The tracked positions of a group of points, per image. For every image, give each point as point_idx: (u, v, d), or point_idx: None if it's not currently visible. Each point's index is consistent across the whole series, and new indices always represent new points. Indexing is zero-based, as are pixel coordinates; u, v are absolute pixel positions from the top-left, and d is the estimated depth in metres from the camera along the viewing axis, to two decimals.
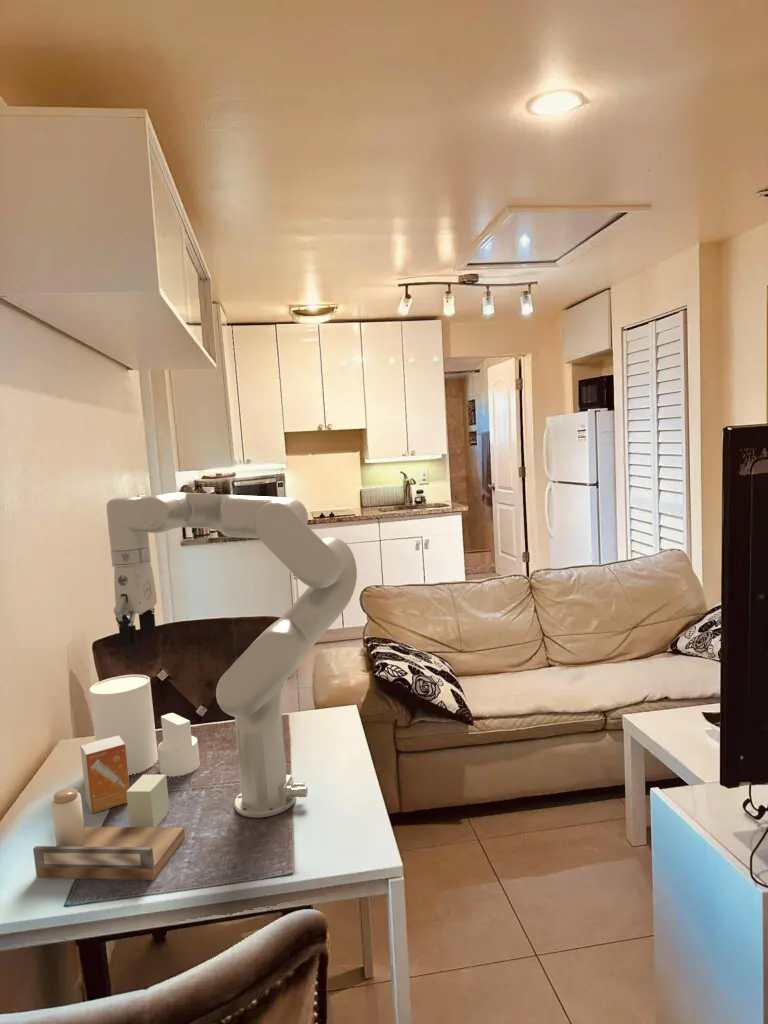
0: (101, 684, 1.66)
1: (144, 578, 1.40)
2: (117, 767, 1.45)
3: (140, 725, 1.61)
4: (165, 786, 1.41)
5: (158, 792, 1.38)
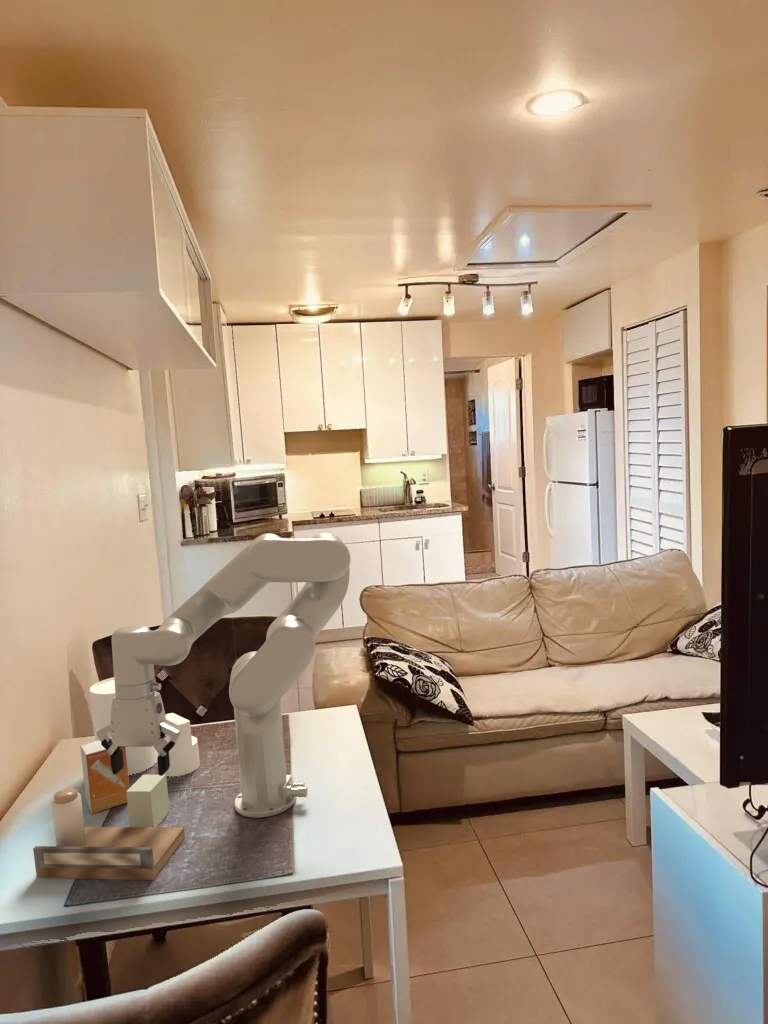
0: (101, 684, 1.66)
1: None
2: None
3: None
4: (165, 786, 1.41)
5: (158, 792, 1.38)
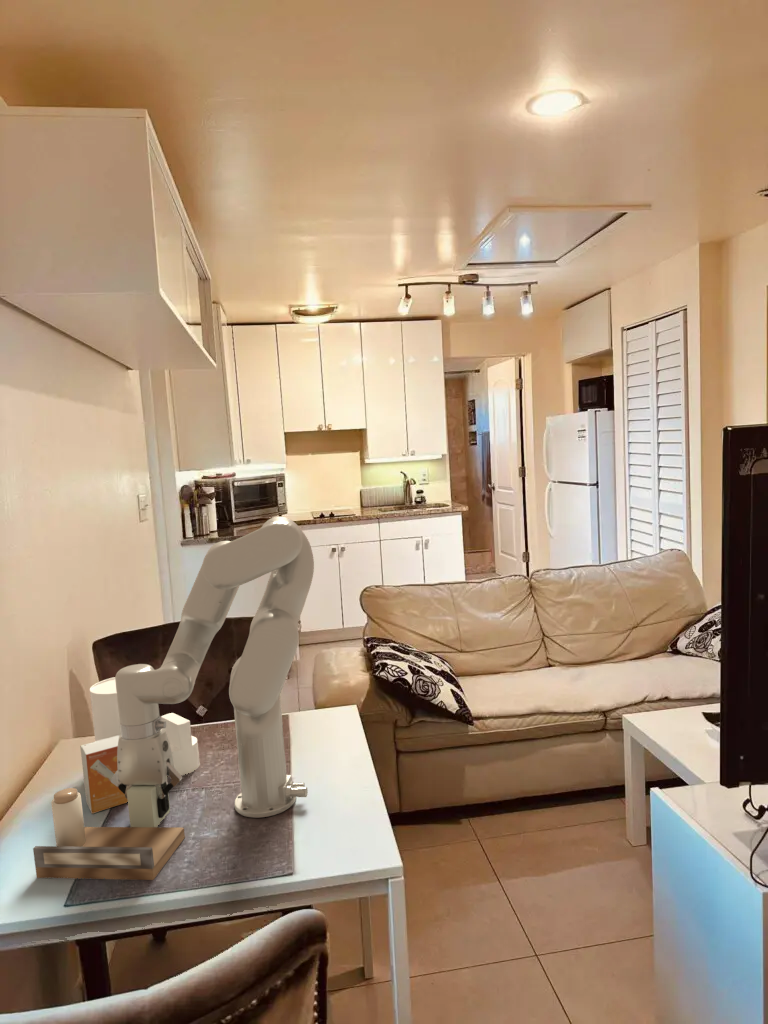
0: (101, 684, 1.66)
1: None
2: None
3: None
4: None
5: None
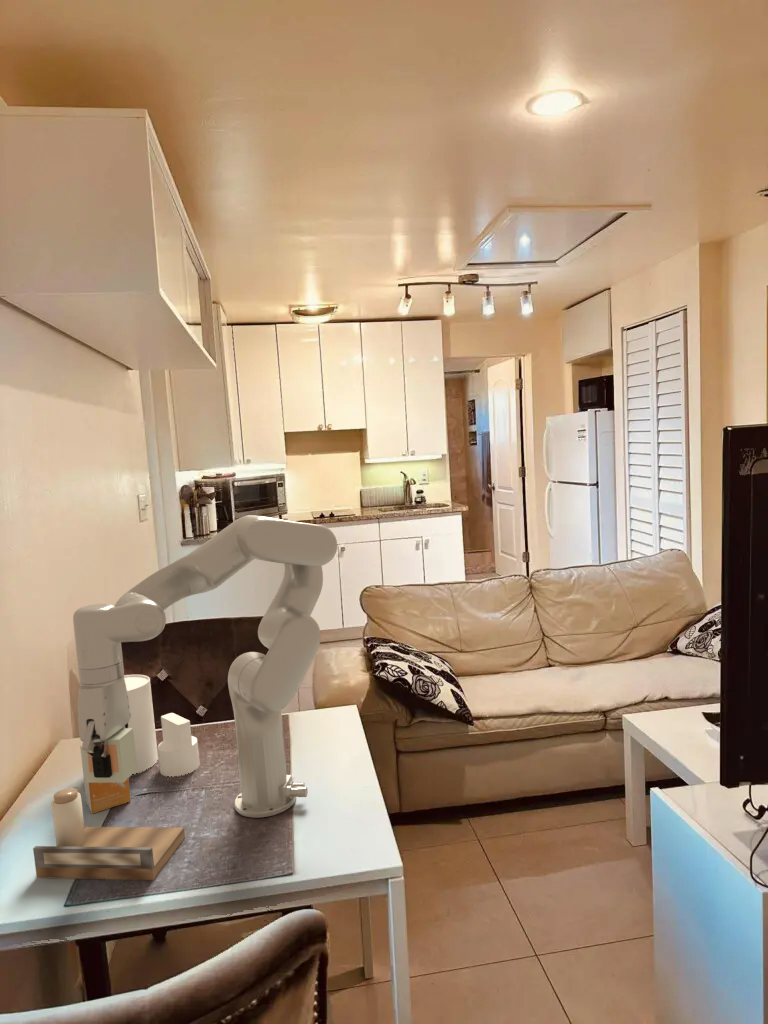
0: None
1: None
2: None
3: (140, 725, 1.61)
4: None
5: None
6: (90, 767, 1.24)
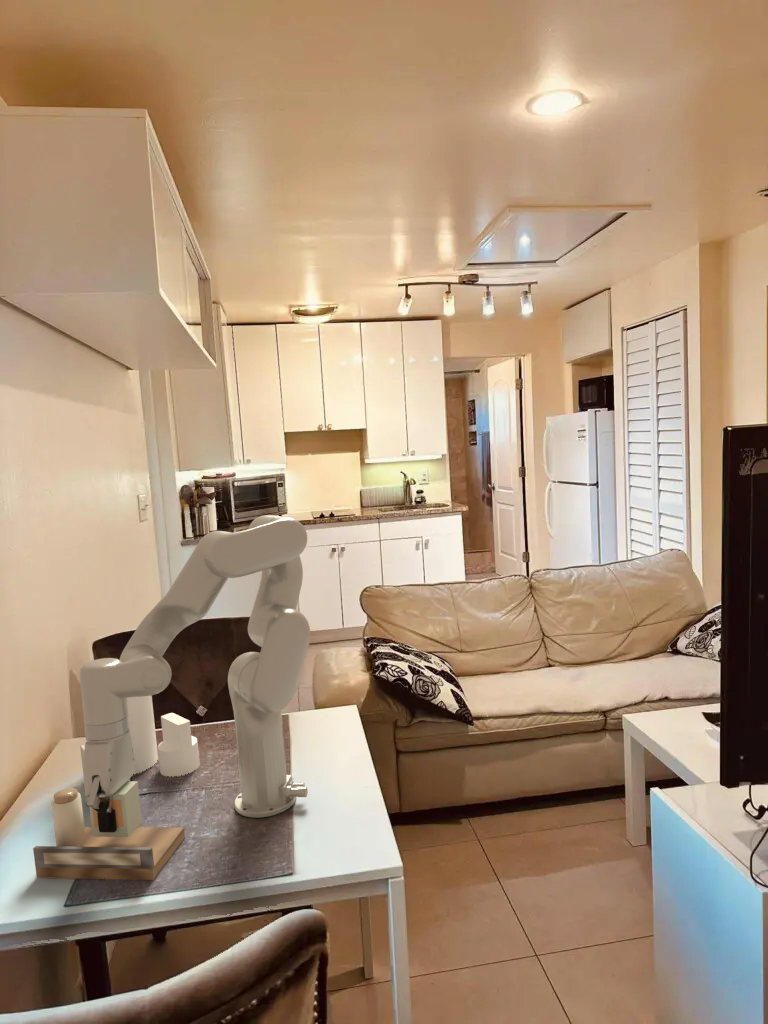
0: None
1: None
2: None
3: (140, 725, 1.61)
4: None
5: None
6: (95, 822, 1.25)
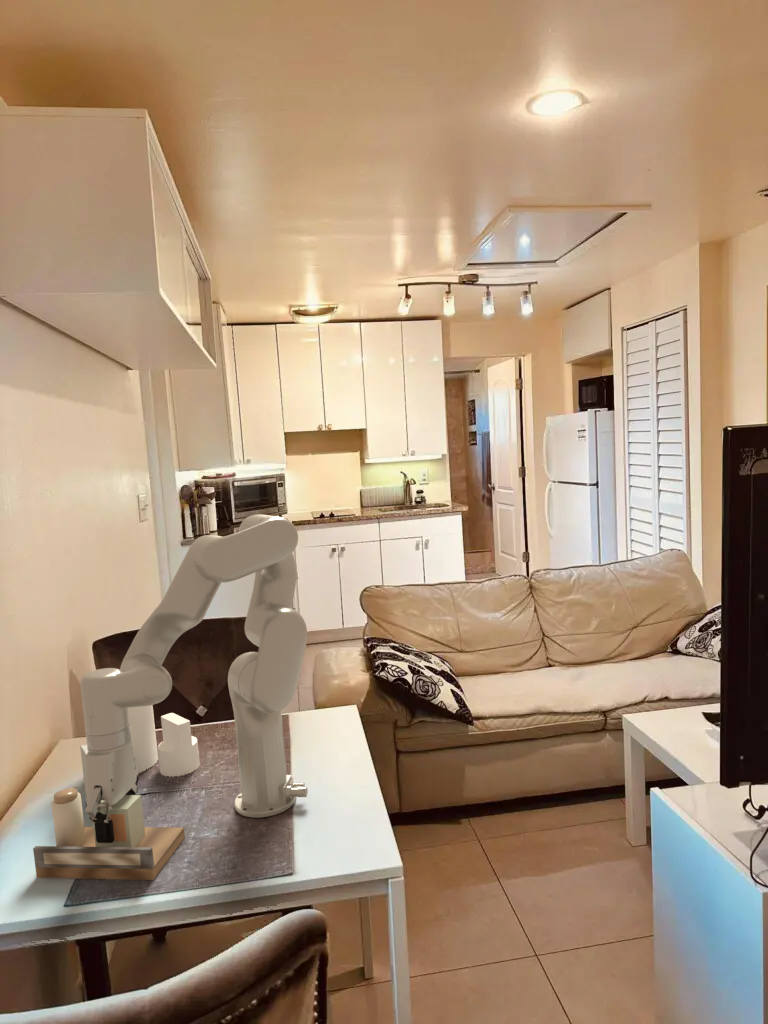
0: None
1: None
2: None
3: (140, 725, 1.61)
4: None
5: None
6: None
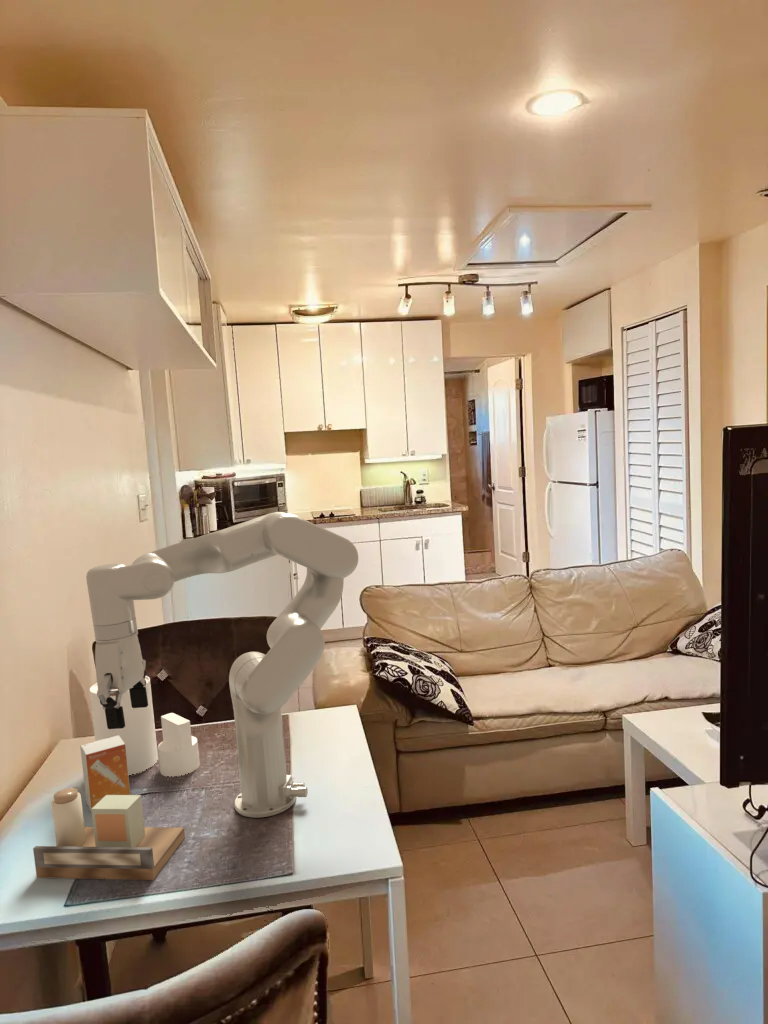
0: None
1: None
2: (117, 767, 1.45)
3: (140, 725, 1.61)
4: None
5: None
6: (98, 836, 1.25)
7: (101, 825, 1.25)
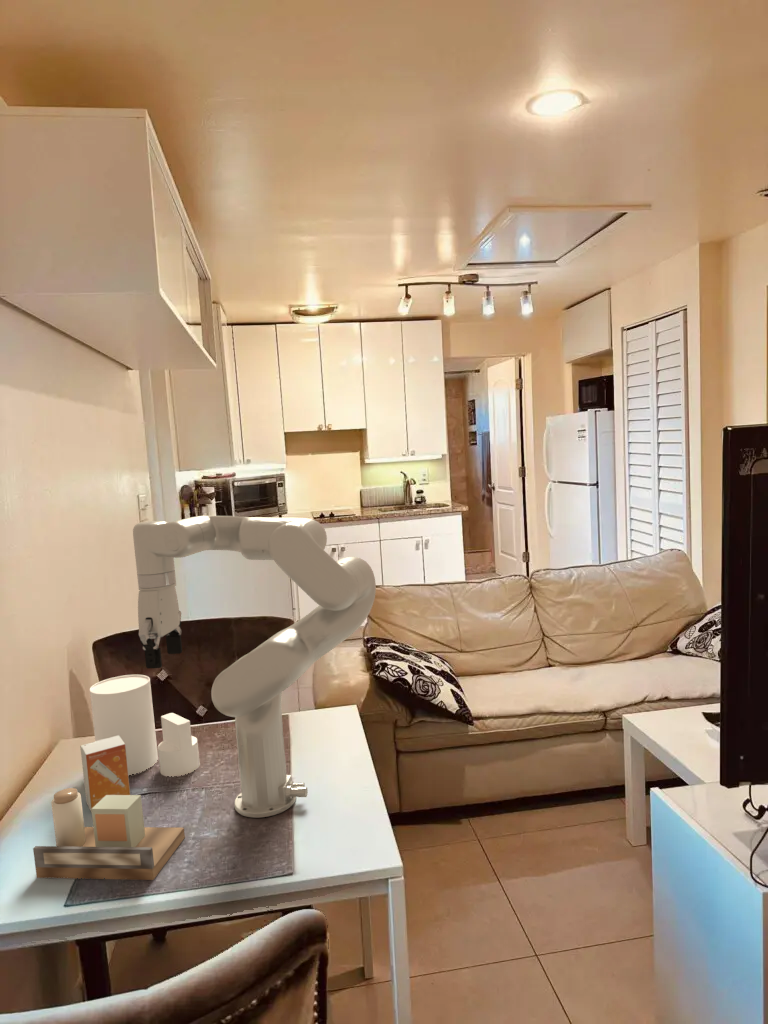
0: (101, 684, 1.66)
1: None
2: (117, 767, 1.45)
3: (140, 725, 1.61)
4: None
5: None
6: (98, 836, 1.25)
7: (101, 825, 1.25)
